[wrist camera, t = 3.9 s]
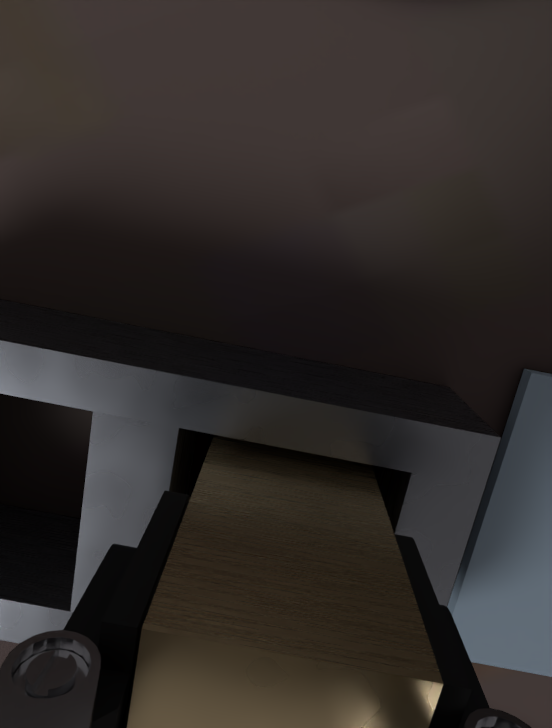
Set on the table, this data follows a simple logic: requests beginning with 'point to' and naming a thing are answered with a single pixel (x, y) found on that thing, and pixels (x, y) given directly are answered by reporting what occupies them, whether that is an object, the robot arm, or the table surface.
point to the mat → (513, 544)
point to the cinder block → (224, 418)
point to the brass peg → (284, 603)
